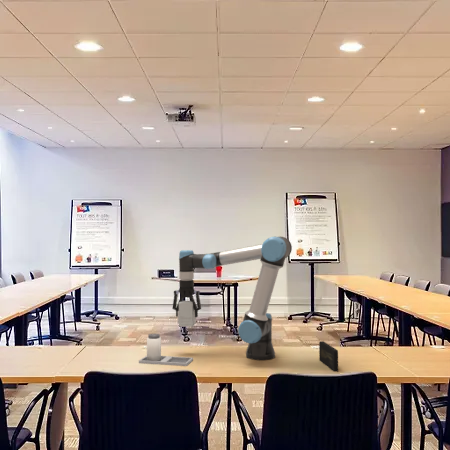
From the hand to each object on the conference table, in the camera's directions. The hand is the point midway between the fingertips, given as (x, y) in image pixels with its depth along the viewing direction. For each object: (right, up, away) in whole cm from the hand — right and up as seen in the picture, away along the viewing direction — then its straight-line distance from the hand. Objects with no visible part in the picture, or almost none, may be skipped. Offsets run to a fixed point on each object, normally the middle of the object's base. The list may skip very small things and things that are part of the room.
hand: (186, 323), depth 267 cm
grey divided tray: (-9, -17, -14) cm, 24 cm away
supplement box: (0, -1, 0) cm, 1 cm away
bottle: (-15, -16, -13) cm, 26 cm away
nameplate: (+71, -18, -18) cm, 75 cm away
